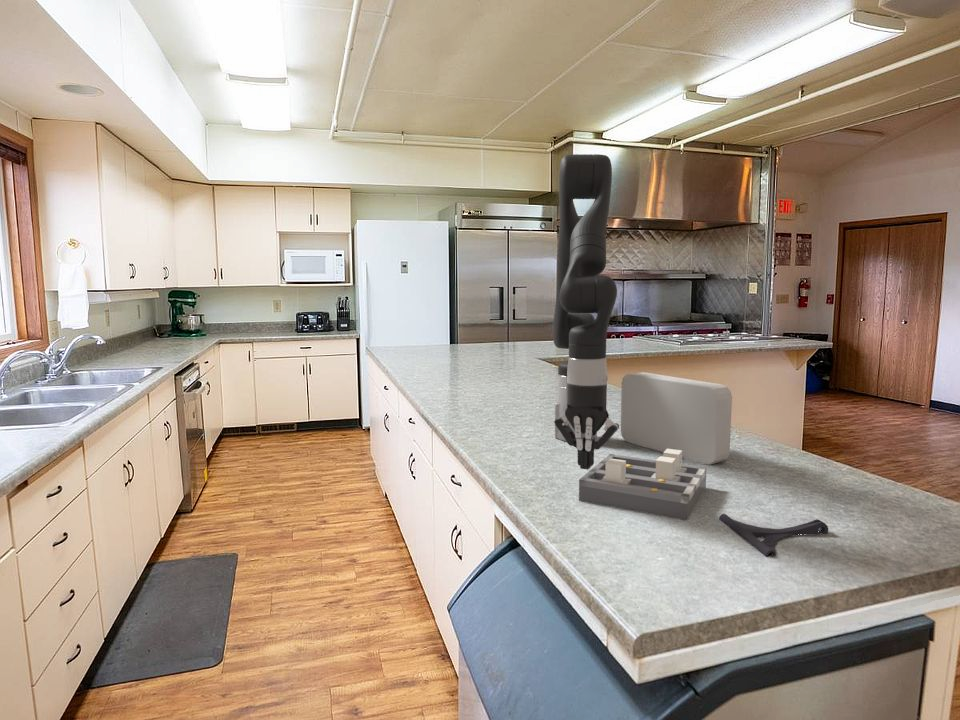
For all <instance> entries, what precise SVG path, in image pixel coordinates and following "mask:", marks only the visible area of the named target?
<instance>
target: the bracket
mask: <svg viewBox="0 0 960 720" xmlns="http://www.w3.org/2000/svg"><path fill="white" fill-rule="evenodd" d="M718 519H719V521H720V522H722V523H723V524H724V525H725V526H727V528H729V529H730V530H731V531H732V532H734V533H735V534H737V535H738V536H739V537H740V538H742V539H743V540H744V541H745V542H746V543H748V544H749V545H750V546H752V547H753V548H754V549H755V550H757V551H758V552H759V553H760V554H762V556H765V557H766V558H768V557H769V554H770V555H772V556H773V557H777V551H776V546H777V544H778V543H779V542H780V541H782V540H784V539H786V537H787V538H790V537H793V535H797V536H805V535H804V534H815V535H827V534H828V533H829V526H828V525H827V524H826V522H824V521H822V520H820V519H818V518H816V519H813V520H811V521H808V522H805V523H802V524H801V523H800V524H799V525H794V526H790V527H783V528H770V527H768V528H767V527H762V526H757V525H751V524H747V523H743V522H741V521H738V520H735V519H733V518H731V517H730V516H729V515H728V514H725V513H721V514H720V515H719V517H718ZM821 530H822V531H821ZM818 531H820V532H821V533H822V534H820V533H819V532H818ZM826 533H827V534H826ZM798 534H799V535H798ZM800 534H802V535H800ZM759 537H760V538H763V540H760V539H759ZM777 542H778V543H777ZM775 545H776V546H775Z"/></svg>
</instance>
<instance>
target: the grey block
mask: <svg viewBox="0 0 960 720" xmlns="http://www.w3.org/2000/svg"><path fill="white" fill-rule="evenodd" d="M621 379H622V381H621V394H620V395H621V396H620V397H621V399H620V433H621V434H620V435H621V438H622V439H623V440H624V441H625V442H627V443H630V444H633V445H637V446H640V447H644V448H648V449H650V450H653V451H657V452H662V453H663V452H664V451H665V450H666V449H674V450H682V459H685V460H688V461H692V462H696V463H699V464H703V465H713V464H717V463H721V462H724V461H726V460H727V459H728V458H729V455H730V452H731V451H730V447H731V427H732V409H733V408H732V406H733V396H732V391H731V390H730V388H729V387H728V386H727V385H724V384H722V383H714V382H708V381H704V380H703V381H702V380H695V379H690V378H683V377H676V376H672V375H671V376H670V375H663V374H656V373H651V372H643V371H642V372H641V371H640V372H633V373H628V374H625V375H624V376H623V377H622V378H621Z"/></svg>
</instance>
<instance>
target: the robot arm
mask: <svg viewBox="0 0 960 720" xmlns="http://www.w3.org/2000/svg"><path fill="white" fill-rule="evenodd" d="M612 182H613V168H612V161H611V159H610V156H607V155H606V154H594V153H592V154H588V153H587V154H579V153H578V154H577V153H575V154H573V153H572V154H566V155H564V156H563V157H562V158H561V160H560V164H559V170H558V197H559V198H558V201H559V202H558V203H559V206H558V207H559V209H558V212H559V214H558V216H559V219H558V220H559V222H558V223H559V224H558V225H559V226H558V240H557V254H556V292H555V293H556V296H555V297H556V298H555V307H554V315H553V325H552V340H553V343H554V346H555V347H556V348H558V349H561V350H563V349H564V350H565V349H566V350H568V359H567V360H565V361H562V362H561V363H559V364H558V366H557V367H558V368H557V371H558V372H557V375H558V376H557V382H558V383H557V402H555V404H554V411H555V412H554V438H555V439H557V440H561V441H564V442H567V444H568V445H569V446H571V447H574V448H576V449H577V464H578V466H579V469H581V470H588V471H589V469H591V467H592V466H594V463H595V451H596V450H600V449H601V448H603V446H604V445H606V443H607V442H609V440H610V439H611V437H613V436H614V434H615V433H616V432H617V431H618V430H619V429H620V424H619V423H618V422H614V421H612V420H611V419H610V417H609V416H610V414H609V412H608V410H607V405H608V404H607V399H608V398H607V397H608V396H607V395H608V394H607V393H608V392H607V391H608V388H607V387H608V379H609V377H608V365H607V335H608V327H609V324H610V320H611V316H612V313H613V310H614V307H615V304H616V301H617V297H618V287H617V284H616V282H615V281H614V279H613V278H612V277H611V276H608V275H600V274H601V273H603V272H604V270H605V269H606V265H607V241H606V240H607V238H606V237H607V226H608V219H609V212H610V203H611V195H612V194H611V193H612ZM574 200H594V201H593V203H592V204H591V206H590V207H589V209H588V210H587V211H586V212H585V214H583V216H582V217H581V218H580V217H579V215H578V212H577V210H576V207H575V203H574ZM593 314H596V318H595V317H594V315H593ZM604 425H605V426H604ZM603 426H604V428H603V430H604V433H603V434H602V435H601V436H600V437H599V439H598V440H597V436H598V432H599V430H601V428H602V427H603Z"/></svg>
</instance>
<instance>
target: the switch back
mask: <svg viewBox="0 0 960 720" xmlns="http://www.w3.org/2000/svg"><path fill="white" fill-rule="evenodd" d="M662 453H663V455H662V456H663V457H670V458H676V468H675V471H676V472H683V473H686V472H687V468H682V464H683V458H682V450H674V449H666V450H665V451H664V452H662Z"/></svg>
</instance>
